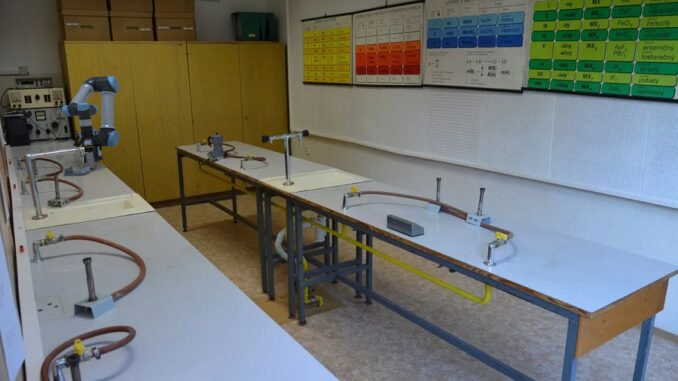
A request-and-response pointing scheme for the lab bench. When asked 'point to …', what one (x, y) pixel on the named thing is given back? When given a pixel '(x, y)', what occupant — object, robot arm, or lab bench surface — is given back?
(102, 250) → the lab bench surface
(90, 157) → the network device
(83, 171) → the bracket
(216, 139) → the coffeepot
